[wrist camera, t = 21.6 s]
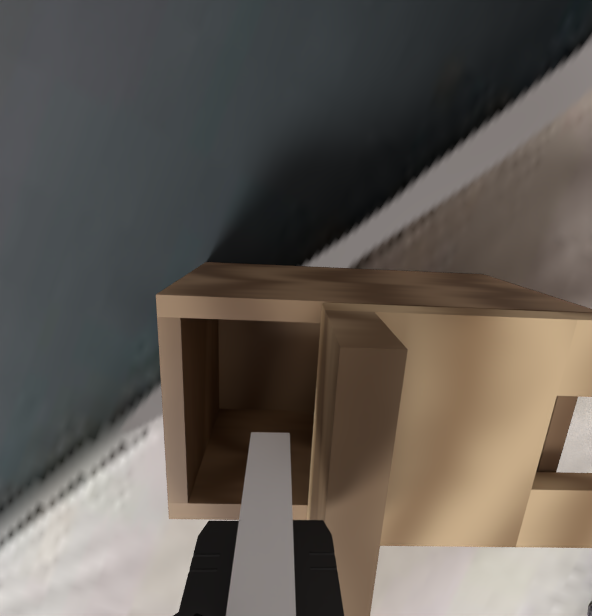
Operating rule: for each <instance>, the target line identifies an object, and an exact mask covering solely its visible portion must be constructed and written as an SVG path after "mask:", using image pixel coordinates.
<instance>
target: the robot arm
mask: <svg viewBox="0 0 592 616" xmlns="http://www.w3.org/2000/svg"><path fill="white" fill-rule="evenodd" d="M174 616H344V610H343V604H342V597H341V591H340V584H339V578H338V571H337V565H336V558H335V552H334V545H333V538H332V534H331V532H330V531H329V529H328V527H327V526H326V524H325V522H324V521H323V520H293V514H292V485H291V456H290V433H270V432H251V437H250V444H249V452H248V459H247V466H246V473H245V481H244V488H243V495H242V502H241V509H240V517H239V521H208V523H207V524H206V526H205V527H204V528H203V530H202V531H201V533H200V534H199V535H198V539H197V542H196V546H195V550H194V555H193V558H192V562H191V566H190V571H189V574H188V578H187V581H186V585H185V589H184V593H183V597H182V601H181V605H180V609H179V612H178V613H177V614H175V615H174Z"/></svg>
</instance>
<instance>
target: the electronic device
mask: <svg viewBox="0 0 592 616" xmlns="http://www.w3.org/2000/svg"><path fill="white" fill-rule="evenodd" d="M588 616H592V604H590V605H589V607H588Z"/></svg>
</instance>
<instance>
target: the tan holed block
mask: <svg viewBox="0 0 592 616" xmlns="http://www.w3.org/2000/svg"><path fill="white" fill-rule="evenodd" d="M557 396H583V397H592V313H574V312H549V311H524V310H499V309H474V308H448V307H423V306H398V305H373V304H348V303H323V302H322V311H321V325H320V339H319V353H318V367H317V381H316V395H315V410H314V424H313V438H312V452H311V466H310V480H309V494H308V509H307V520H323V521H324V522H325V524H326V526H327V527H328V529H329V531H330V532H331V534H332V538H333V545H334V552H335V558H336V565H337V571H338V578H339V584H340V591H341V597H342V604H343V610H344V616H370V611H371V604H372V597H373V590H374V583H375V576H376V569H377V562H378V555H379V548H380V546H463V547H558V548H592V473H556V472H536V470H537V467H538V463H539V460H540V456H541V452H542V449H543V445H544V441H545V438H546V434H547V430H548V427H549V423H550V419H551V416H552V412H553V408H554V405H555V401H556V397H557Z"/></svg>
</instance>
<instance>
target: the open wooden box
mask: <svg viewBox="0 0 592 616" xmlns="http://www.w3.org/2000/svg"><path fill="white" fill-rule="evenodd" d="M322 302H323V303H348V304H373V305H398V306H423V307H448V308H474V309H499V310H524V311H549V312H574V313H592V309H590V308H587V307H584V306H580V305H577V304H574V303H571V302H568V301H565V300H562V299H559V298H555V297H552V296H549V295H546V294H543V293H540V292H537V291H534V290H531V289H527V288H524V287H521V286H518V285H515V284H512V283H509V282H506V281H502V280H499V279H496V278H493V277H490V276H487V275H484V274H465V273H442V272H420V271H397V270H374V269H352V268H329V267H306V266H284V265H261V264H238V263H216V262H205V263H204V264H202V265H201V266H199V267H198V268H196V269H195V270H193V271H192V272H190V273H189V274H187V275H185V276H184V277H182V278H181V279H179V280H178V281H176V282H175V283H173V284H172V285H170V286H169V287H167V288H166V289H164V290H162V291H161V292H159V293H158V294H156V304H157V321H158V338H159V355H160V372H161V390H162V407H163V424H164V441H165V459H166V476H167V493H168V510H169V519H218V520H239V517H240V509H241V502H242V495H243V488H244V481H245V473H246V466H247V459H248V452H249V444H250V437H251V432H270V433H290V456H291V485H292V514H293V520H307V509H308V494H309V480H310V466H311V452H312V438H313V424H314V410H315V395H316V381H317V367H318V353H319V339H320V325H321V311H322ZM577 398H578V396H557V397H556V401H555V405H554V408H553V412H552V416H551V419H550V423H549V427H548V430H547V434H546V438H545V441H544V445H543V449H542V452H541V456H540V460H539V463H538V467H537V470H536V472H556V470H557V467H558V464H559V460H560V457H561V453H562V450H563V446H564V443H565V439H566V436H567V433H568V429H569V426H570V422H571V419H572V415H573V412H574V409H575V405H576V402H577Z"/></svg>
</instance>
